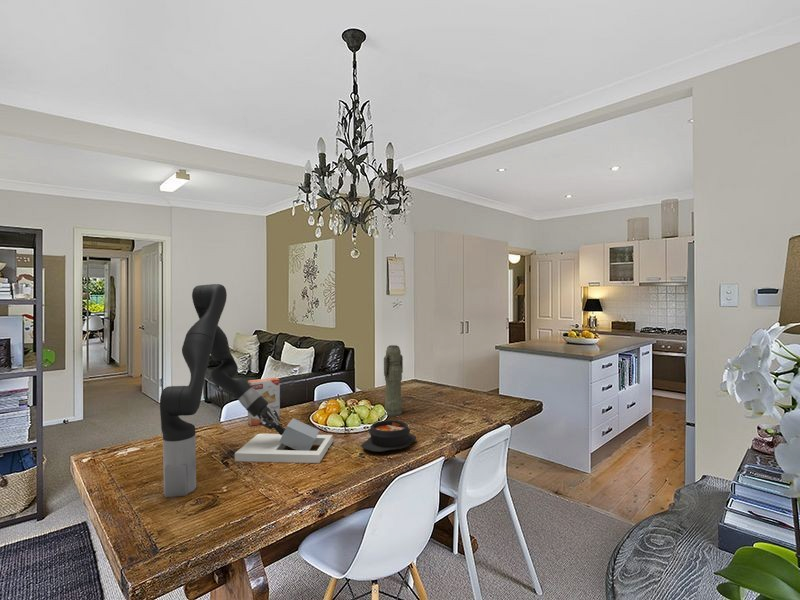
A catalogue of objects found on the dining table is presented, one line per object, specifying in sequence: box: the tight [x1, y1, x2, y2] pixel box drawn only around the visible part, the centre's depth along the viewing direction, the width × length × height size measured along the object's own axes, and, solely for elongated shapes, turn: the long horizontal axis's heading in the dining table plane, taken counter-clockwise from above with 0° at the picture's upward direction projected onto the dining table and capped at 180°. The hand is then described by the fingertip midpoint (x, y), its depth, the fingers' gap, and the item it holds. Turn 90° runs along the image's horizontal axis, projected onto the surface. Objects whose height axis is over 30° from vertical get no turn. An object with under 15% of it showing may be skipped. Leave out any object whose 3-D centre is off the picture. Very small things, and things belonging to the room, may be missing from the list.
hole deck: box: [234, 433, 334, 464], centre depth 169 cm, size 22×32×3 cm
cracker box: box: [247, 376, 281, 427], centre depth 206 cm, size 14×6×21 cm, turn 125°
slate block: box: [279, 417, 321, 451], centre depth 169 cm, size 10×12×7 cm
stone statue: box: [383, 344, 404, 417], centre depth 220 cm, size 9×12×35 cm
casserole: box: [361, 419, 417, 453], centre depth 174 cm, size 25×19×8 cm
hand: (283, 433), depth 169 cm, fingers closed
